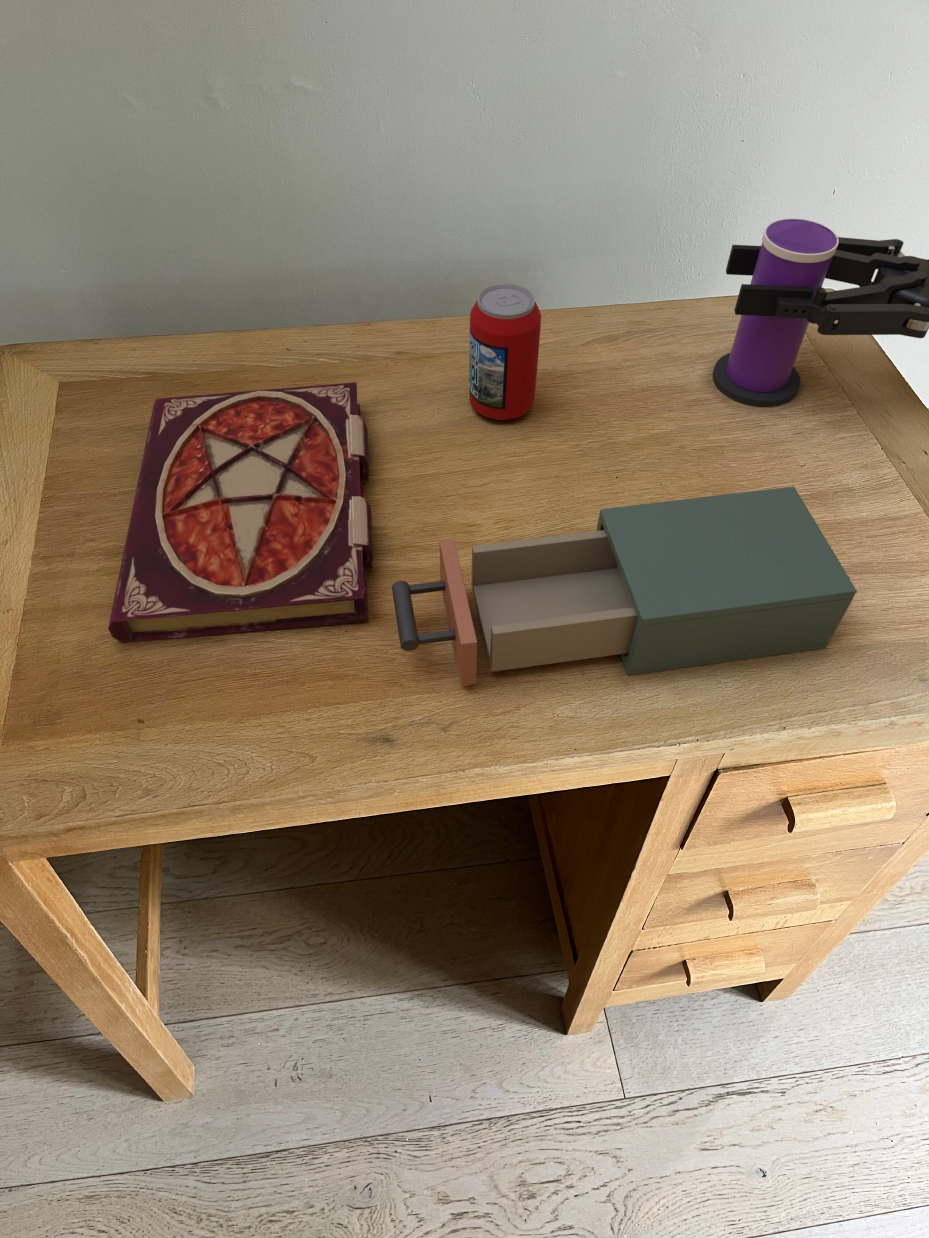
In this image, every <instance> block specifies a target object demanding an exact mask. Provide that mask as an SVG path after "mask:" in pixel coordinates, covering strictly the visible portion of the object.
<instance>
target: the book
mask: <svg viewBox="0 0 929 1238" xmlns="http://www.w3.org/2000/svg"><path fill="white" fill-rule="evenodd" d="M149 421H150V422H149V426H148V430H147V435H146V440H145V445H144V450H143V456H142V460H141V465H140V470H139V474H138V480H137V485H136V489H135V495H134V498H133V499H134V500H133V504H132V509H131V514H130V517H129V524H128V527H127V533H126V539H125V543H124V549H123V554H122V558H121V563H120V564H121V565H120V569H119V572H118V573H119V574H118V578H117V583H116V589H115V591H114V598H113V603H112V606H111V613H110V617H109V622H108V627H107V630H108V631H109V633H110V636H111V637H112V638H113V639H115V640H117V641H119V642H121V643H133V642H143V641H154V640H155V641H156V640H164V639H166V640H167V639H177V638H189V637H200V636H211V635H222V634H223V635H224V634H233V633H234V634H235V633H246V632H257V631H258V632H259V631H268V630H269V631H270V630H280V629H291V628H302V627H303V628H305V627H313V626H314V627H315V626H327V625H336V624H337V625H338V624H347V623H358V622H359V623H361V622H368V621H369V611H368V610H369V609H368V608H369V607H368V583H367V573H369V572H370V571H372V570H373V561H374V549H373V548H374V546H373V544H374V543H373V522H372V521H373V520H372V509H371V506H370V503H369V501H368V498H366V497H364V484H366V483H367V482H369V474H370V458H369V457H370V455H369V435H368V434H369V433H368V426H367V424H366V421H365V418H364V417H363V416H361V405H360V403H358V383H357V382H356V381H353V382H343V383H331V384H330V383H329V384H317V385H305V386H293V387H281V388H269V389H268V388H267V389H260V390H259V389H257V390H245V391H235V392H222V393H219V392H218V393H208V394H197V395H185V396H172V397H171V396H170V397H159V398H156V399H155V401H154V403H153V406H152V410H151V415H150V420H149Z"/></svg>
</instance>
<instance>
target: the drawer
mask: <svg viewBox="0 0 929 1238" xmlns="http://www.w3.org/2000/svg"><path fill="white" fill-rule="evenodd" d="M455 541H456V540H455V539H448V540H440V541H439V542H438V543H439V578H440V579H439V580H437V581H430V582H421V583H413V584H409V583H408V581H405V580H398V581H395V582H394V583H392V585H391V593H392V598H393V599H392V600H393V605H394V606H393V607H394V612H395V618H396V624H397V625H396V626H397V632H398V638H399V645H400V648H401V649H402V650H403V651H405V652H412V651H415V650H416V649H418V648H419V647H420V645H427V644H433V643H442V642H448V641H451V644H452V649H453V655H454V659H455V664H456V669H457V674H458V679H459V684H460V686H469V685H476V684H477V665H478V663H477V662H478V661H477V659H478V640H477V634H476V631H475V625H474V622H473V617H472V613H471V609H470V604H469V599H468V596H467V590H466V586H465V581H464V577H463V572H462V568H461V564H460V559H459V555H458V551H457V546H456V542H455ZM470 580H471V582H470V583H471V584H470V586H471V590H472V594H473V598H474V602H475V607H476V612H477V616H478V620H479V624H480V629H481V633H482V637H483V642H484V645H485V647H484V648H485V651H486V654H487V659H488V663H489V668H490V671H491V672H500V671H506V670H514V669H521V668H529V667H530V668H531V667H535V666H541V665H542V666H544V665H551V664H557V663H565V662H574V661H580V660H587V659H594V658H595V659H596V658H601V657H609V656H617V655H620V654H625V653H629V650H630V646H631V643H632V639H633V635H634V631H635V627H636V623H637V619H638V617H637V614H636V611H635V609H634V606H633V604H632V601H631V598H630V596H629V593H628V590H627V588H626V585H625V582H624V580H623V577H622V575H621V572H620V569H619V567H618V564H617V561H616V559H615V556H614V553H613V551H612V548H611V546H610V543H609V540H608V538H607V535H606V532H605V530H600V531H596V530H593V531H585V532H579V533H568V534H560V535H552V536H550V535H549V536H543V537H534V538H526V539H518V540H517V539H516V540H510V541H501V542H494V543H485V544H477V545H475V544H474V545H472V546H471V579H470ZM435 592H441V594H442V599H443V604H444V609H445V610H444V611H445V614H446V620H447V623H448V624H447V625H448V629H447V630H440V631H439V630H438V631H433V632H425V633H424V632H423V633H418V629H417V623H416V617H415V612H414V606H413V605H414V604H413V598H412V595H419V594H428V593H435Z"/></svg>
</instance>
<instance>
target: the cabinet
mask: <svg viewBox="0 0 929 1238" xmlns="http://www.w3.org/2000/svg"><path fill="white" fill-rule="evenodd" d="M600 530H605V532H606V535H607V538H608V540H609V543H610V546H611V548H612V551H613V553H614V556H615V559H616V561H617V564H618V567H619V569H620V572H621V575H622V577H623V580H624V582H625V585H626V588H627V590H628V593H629V596H630V598H631V601H632V604H633V606H634V609H635V611H636V614H637V617H638V619H637V623H636V627H635V631H634V635H633V639H632V643H631V646H630V650H629V653H625V654H619V655H620V658H621V660H622V663H623V667H624V669H625V672H626V675H627V676H634V675H635V676H636V675H641V674H649V673H655V672H656V673H657V672H665V671H671V670H676V669H678V670H679V669H684V668H690V667H691V668H692V667H698V666H706V665H713V664H720V663H727V662H734V661H741V660H750V659H756V658H763V657H770V656H776V655H784V654H792V653H800V652H806V651H814V650H820V649H826V648H827V646H828V644H829V643H830V641H831V639H832V638H833V635H834V634H835V632H836V630H837V628H838V626H839V625H840V623H841V621H842V619H843V617H844V616H845V614H846V612H847V611H848V609H849V607H850V605H851V603H852V602H853V599H854V597H855V596H856V594H857V592H858V591H857V589H856V587H855V585H854V584H853V582H852V580H851V578H850V577H849V575H848V573H847V572H846V570H845V568H844V567H843V565H842V564H841V562H840V561H839V558H838V557H837V555H836V554H835V552H834V551H833V548H832V547H831V545H830V544H829V542H828V540H827V539H826V537H825V535H824V534H823V532H822V530H821V528H820V527H819V525H818V523H817V522H816V520H815V518H814V517H813V515H812V514H811V512H810V510H809V508H808V507H807V505H806V503H805V502H804V500H803V498H802V497H801V495H800V494H799V492H798V491H797V489H796V487H795V486H787V487H786V486H785V487H778V488H770V489H768V488H767V489H761V490H753V491H743V492H736V493H735V492H734V493H727V494H726V493H725V494H717V495H710V496H700V497H693V498H685V499H684V498H683V499H676V500H666V501H657V502H650V503H642V504H634V505H633V504H632V505H624V506H616V507H615V506H614V507H607V508H601V509H599V515H598V521H597V525H596V530H595V531H600Z"/></svg>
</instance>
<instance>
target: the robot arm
mask: <svg viewBox="0 0 929 1238" xmlns="http://www.w3.org/2000/svg"><path fill="white" fill-rule="evenodd" d="M837 237H838V240H839V243H838V246H837V249H836V252H835V254H834V255H833V257H832V260H831V262H830V265H829V268H828V271H827V274H826V276H825V280H826V279H827V280H830V281H831V280H832V281H835V282H841V283H845V284H850V285H855V286H857V287H851V288H845V289H839V290H831V291H827V290H826V288H824V287H823V285H822V286H819V287H818V289H817V292H816V294H815V297H814V298H812V295H813V292H814V291H813V288H812V287H795V286H774V285H751V284H749V283H748V284H747V283H740V284H741V285H740V288H739V292H738V295H737V300H736V302H735V303H736V304H735V307H734V310H733V311H734V315H736V316H741V315H754V316H775V317H782V318H786V317H787V318H804V319H807V321H808V322H809V324H814V325H816V326H818V327H817V329H816V331H817V333H818V334H819V335H823V336H894V335H895V336H899V335H900V336H903V337H904V336H905V337H909V338H914V339H915V338H916V339H924V338H925V337H926V335H927V333H928V331H929V258H928V259H927V258H921V257H917V256H915V255H905V254H904V253H903V252H902V249H903V246H904V241H903V240H901V239H900V238H899V239H898V238H890V239H880V240H879V239H878V240H876V239H864V238H855V237H853V238H852V237H843V236H837ZM760 248H761V245H750V244H749V245H748V244H732V245H731V249H730V253H729V255H728V259H727V264H726V268H725V273H726V275H729V276H753V273H754V269H755V266H756V262H757V259H758V255H759V252H760ZM876 270H877V272H876ZM875 272H876V274H875ZM874 275H875V276H874ZM873 277H874V278H873ZM821 287H822V288H821ZM836 321H837V322H836Z"/></svg>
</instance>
